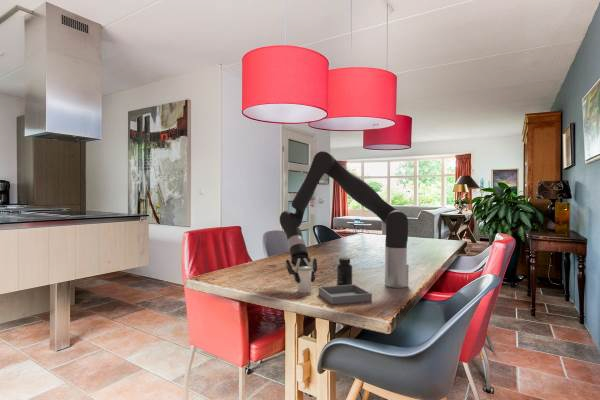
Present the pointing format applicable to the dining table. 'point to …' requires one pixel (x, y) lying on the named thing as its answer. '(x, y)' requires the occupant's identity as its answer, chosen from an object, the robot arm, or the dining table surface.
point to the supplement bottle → (344, 272)
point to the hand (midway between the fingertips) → (305, 281)
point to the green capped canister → (304, 279)
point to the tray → (345, 294)
